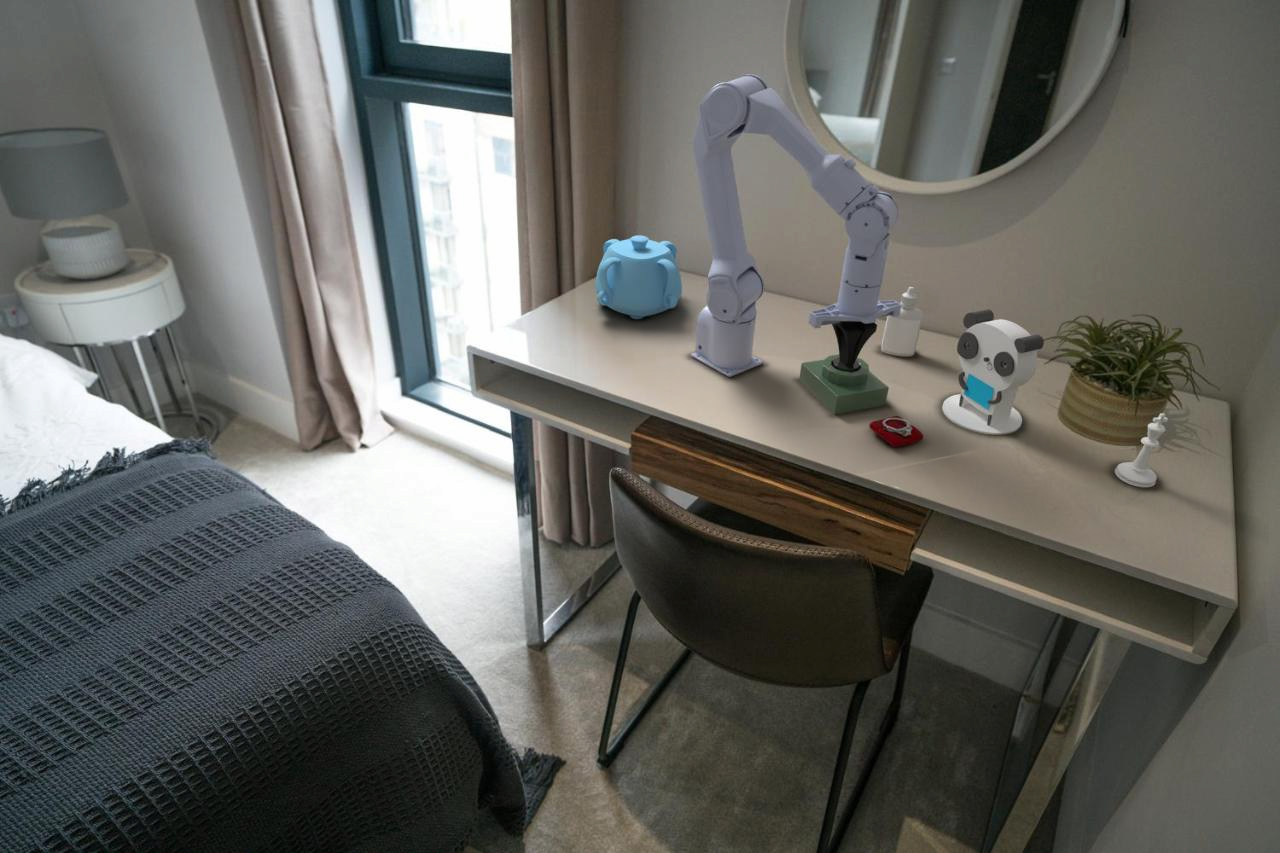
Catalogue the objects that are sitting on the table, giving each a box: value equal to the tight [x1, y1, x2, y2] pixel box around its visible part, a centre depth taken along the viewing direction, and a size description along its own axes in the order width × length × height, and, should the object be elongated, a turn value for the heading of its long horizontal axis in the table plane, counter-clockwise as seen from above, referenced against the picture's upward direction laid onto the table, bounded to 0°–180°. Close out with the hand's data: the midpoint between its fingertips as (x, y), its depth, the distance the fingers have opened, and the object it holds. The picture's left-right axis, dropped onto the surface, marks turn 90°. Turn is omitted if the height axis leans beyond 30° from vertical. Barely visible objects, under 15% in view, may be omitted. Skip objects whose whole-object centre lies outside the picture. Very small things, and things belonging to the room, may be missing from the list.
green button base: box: [798, 353, 890, 415], centre depth 123 cm, size 11×9×5 cm
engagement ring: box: [868, 415, 924, 448], centre depth 113 cm, size 6×6×3 cm
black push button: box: [833, 357, 860, 372], centre depth 122 cm, size 4×4×2 cm
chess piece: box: [1114, 412, 1169, 488], centre depth 104 cm, size 5×5×10 cm
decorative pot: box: [594, 235, 683, 320], centre depth 147 cm, size 16×16×14 cm
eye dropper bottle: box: [880, 286, 923, 358], centre depth 133 cm, size 4×6×12 cm
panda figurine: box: [941, 308, 1045, 436], centre depth 116 cm, size 12×11×15 cm
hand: (846, 362), depth 122 cm, fingers closed, pressing on black push button
